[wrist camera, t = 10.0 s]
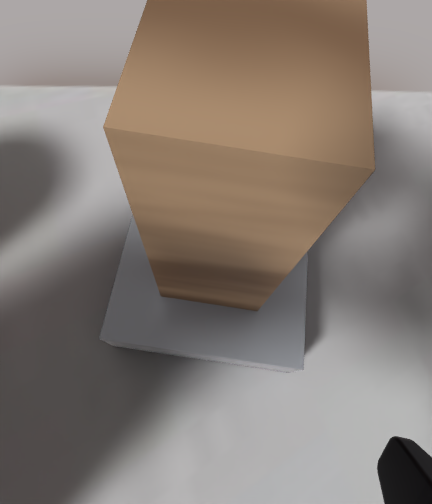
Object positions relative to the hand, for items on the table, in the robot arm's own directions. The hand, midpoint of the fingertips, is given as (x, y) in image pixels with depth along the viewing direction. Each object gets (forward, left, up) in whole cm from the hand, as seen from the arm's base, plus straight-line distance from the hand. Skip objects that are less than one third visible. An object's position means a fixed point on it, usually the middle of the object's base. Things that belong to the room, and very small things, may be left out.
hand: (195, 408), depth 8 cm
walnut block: (+6, -4, -9) cm, 11 cm away
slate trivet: (+6, -4, -12) cm, 14 cm away
